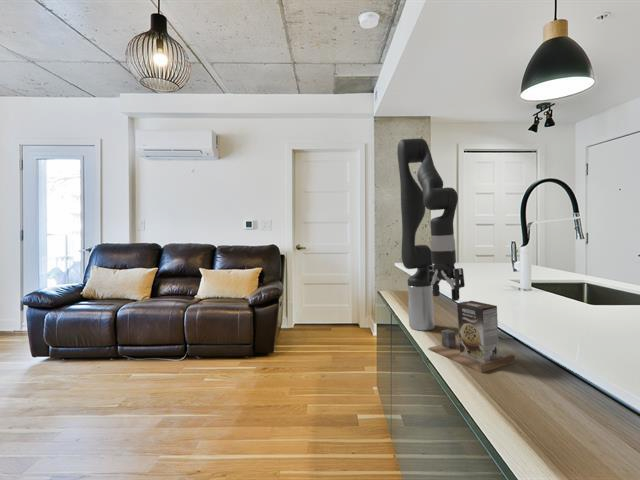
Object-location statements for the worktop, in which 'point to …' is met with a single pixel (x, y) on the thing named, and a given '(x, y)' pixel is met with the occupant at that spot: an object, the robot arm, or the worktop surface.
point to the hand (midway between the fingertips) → (445, 298)
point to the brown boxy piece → (478, 331)
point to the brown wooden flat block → (452, 351)
